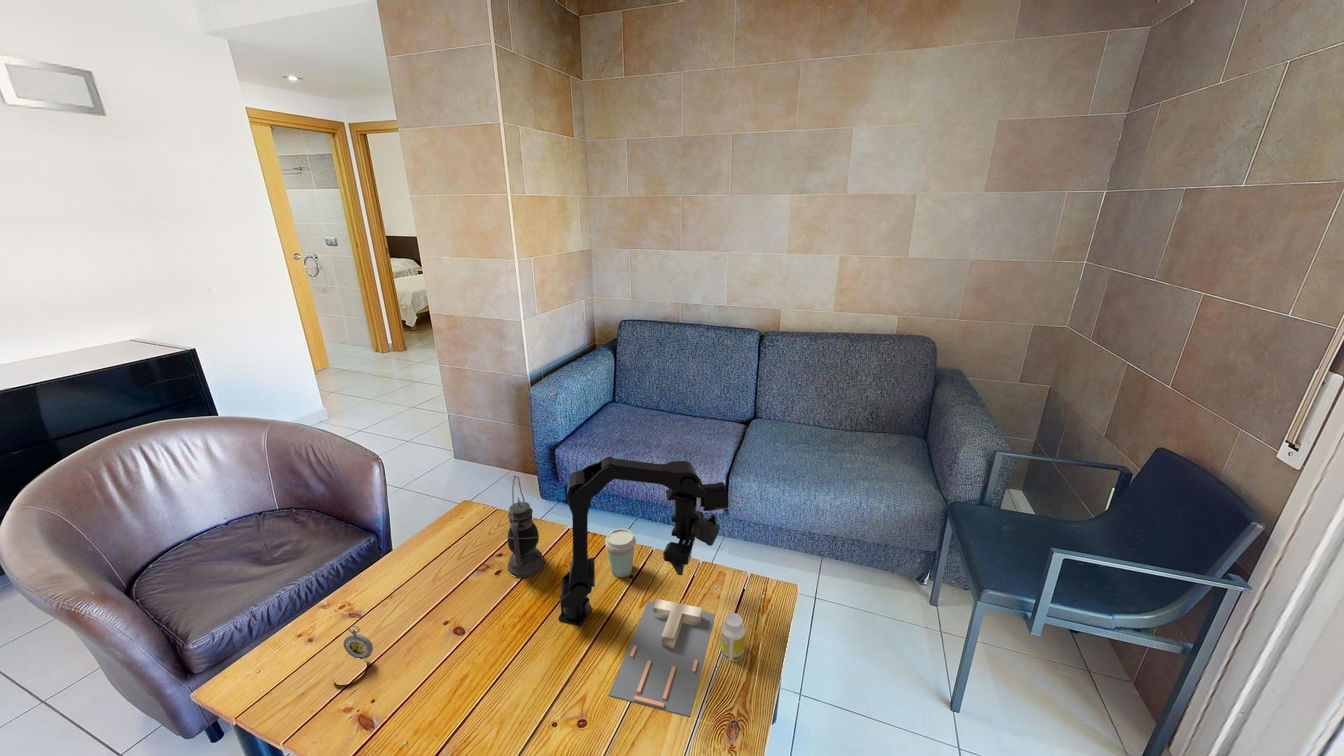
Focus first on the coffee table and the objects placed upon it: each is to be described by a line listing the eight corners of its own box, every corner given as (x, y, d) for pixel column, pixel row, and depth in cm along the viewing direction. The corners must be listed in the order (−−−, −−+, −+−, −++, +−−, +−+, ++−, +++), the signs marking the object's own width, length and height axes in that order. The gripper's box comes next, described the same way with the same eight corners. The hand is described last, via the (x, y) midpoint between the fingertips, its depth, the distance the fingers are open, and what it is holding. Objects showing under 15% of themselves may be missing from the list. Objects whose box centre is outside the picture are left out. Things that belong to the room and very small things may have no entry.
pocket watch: (331, 692, 107) (321, 657, 103) (336, 662, 114) (326, 628, 110) (375, 676, 110) (366, 642, 107) (377, 648, 117) (368, 615, 114)
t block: (643, 641, 118) (643, 632, 117) (657, 608, 128) (656, 598, 127) (692, 652, 115) (692, 643, 114) (702, 617, 125) (702, 608, 124)
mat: (608, 696, 106) (608, 693, 105) (648, 601, 131) (648, 598, 131) (690, 717, 101) (690, 714, 101) (715, 615, 127) (715, 612, 126)
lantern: (538, 580, 139) (528, 487, 129) (501, 580, 139) (487, 487, 129) (549, 551, 150) (540, 464, 141) (514, 551, 151) (503, 464, 141)
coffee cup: (642, 568, 143) (641, 533, 140) (624, 586, 137) (622, 550, 133) (619, 557, 148) (617, 523, 144) (600, 574, 141) (598, 539, 137)
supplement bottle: (746, 646, 118) (747, 613, 114) (741, 665, 113) (743, 631, 110) (723, 640, 119) (725, 608, 116) (718, 658, 114) (719, 625, 111)
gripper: (709, 539, 112) (707, 594, 117) (724, 496, 129) (722, 546, 134) (662, 531, 115) (662, 585, 120) (682, 490, 132) (682, 539, 137)
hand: (684, 562), depth 128 cm, fingers open, 9 cm apart
